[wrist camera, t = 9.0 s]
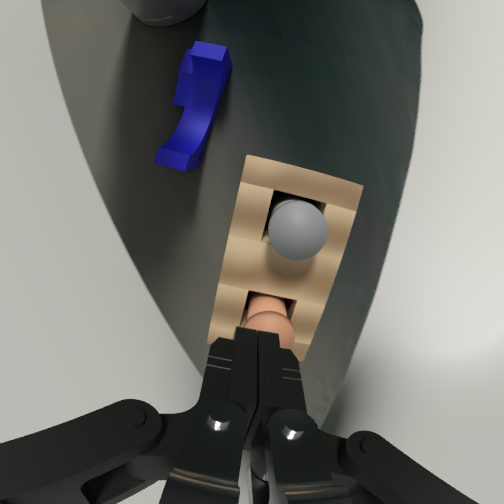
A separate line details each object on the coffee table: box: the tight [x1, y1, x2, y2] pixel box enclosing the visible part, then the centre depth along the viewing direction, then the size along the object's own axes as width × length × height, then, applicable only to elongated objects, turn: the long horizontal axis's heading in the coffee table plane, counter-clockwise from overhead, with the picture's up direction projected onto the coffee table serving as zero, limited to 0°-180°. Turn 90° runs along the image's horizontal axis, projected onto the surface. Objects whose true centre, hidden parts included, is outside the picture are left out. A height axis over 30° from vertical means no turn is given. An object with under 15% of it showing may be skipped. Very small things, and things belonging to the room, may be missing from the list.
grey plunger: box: [268, 195, 328, 260], centre depth 27 cm, size 5×5×8 cm
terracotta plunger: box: [243, 291, 295, 349], centre depth 30 cm, size 5×5×8 cm
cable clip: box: [154, 41, 232, 171], centre depth 26 cm, size 12×4×6 cm, turn 162°
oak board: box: [207, 155, 363, 361], centre depth 31 cm, size 20×11×5 cm, turn 167°
